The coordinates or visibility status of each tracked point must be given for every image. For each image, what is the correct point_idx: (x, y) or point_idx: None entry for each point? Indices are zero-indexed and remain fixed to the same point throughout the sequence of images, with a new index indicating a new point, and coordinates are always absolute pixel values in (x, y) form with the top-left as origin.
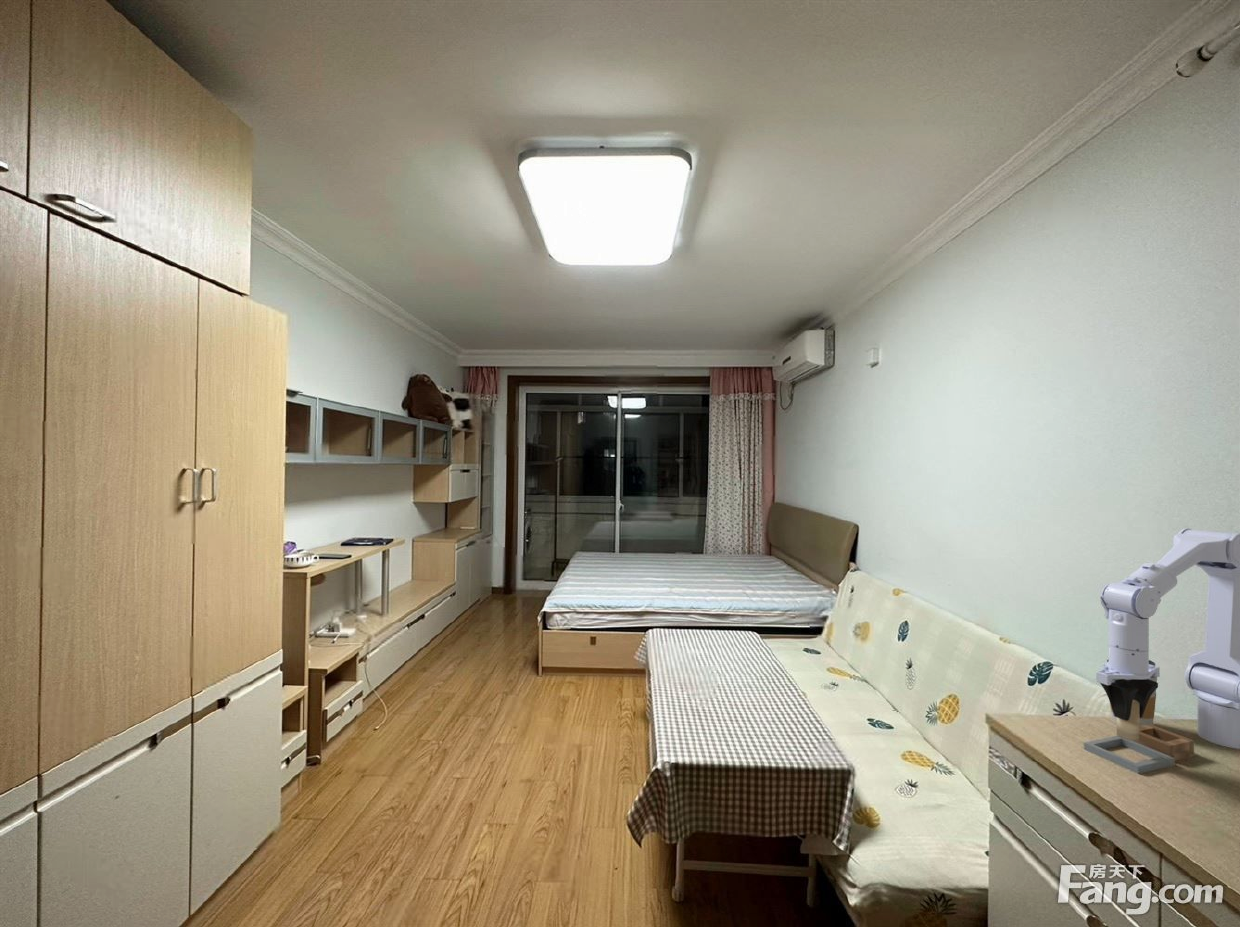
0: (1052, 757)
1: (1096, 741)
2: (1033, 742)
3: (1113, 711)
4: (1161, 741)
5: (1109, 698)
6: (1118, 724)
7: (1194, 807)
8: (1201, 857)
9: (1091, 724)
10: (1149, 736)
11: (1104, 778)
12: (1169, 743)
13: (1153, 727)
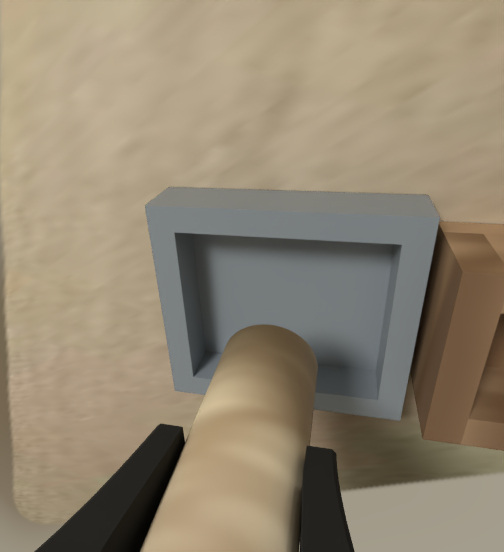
0: (11, 159)
1: (222, 218)
2: (19, 9)
3: (139, 450)
4: (448, 410)
5: (47, 545)
6: (209, 389)
7: None
8: (31, 502)
9: None
10: (467, 365)
11: (86, 316)
12: (461, 430)
13: None
